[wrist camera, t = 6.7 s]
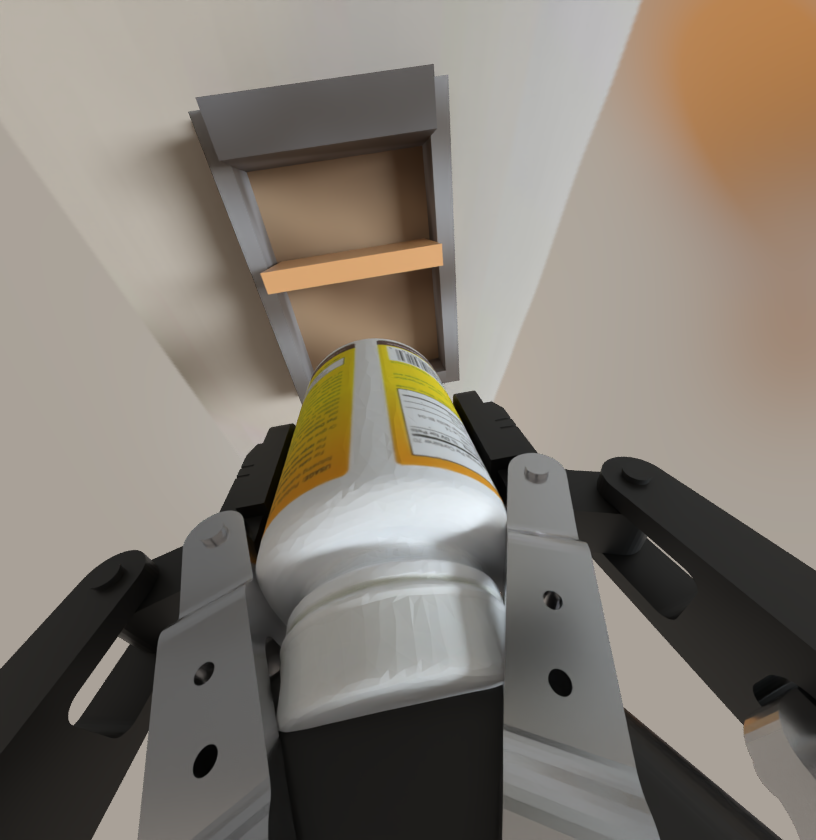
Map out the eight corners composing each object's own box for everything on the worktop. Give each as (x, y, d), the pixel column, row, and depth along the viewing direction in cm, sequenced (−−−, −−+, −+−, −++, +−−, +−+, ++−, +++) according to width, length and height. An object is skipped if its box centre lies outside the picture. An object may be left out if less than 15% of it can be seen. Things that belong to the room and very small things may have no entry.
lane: (202, 118, 16) (151, 85, 12) (441, 83, 16) (468, 41, 13) (305, 394, 26) (295, 426, 22) (454, 367, 26) (471, 394, 22)
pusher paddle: (281, 261, 19) (260, 273, 15) (424, 238, 19) (441, 243, 15) (287, 278, 20) (268, 294, 15) (425, 255, 20) (443, 265, 16)
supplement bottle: (319, 452, 14) (259, 796, 6) (297, 335, 11) (94, 705, 3) (436, 443, 15) (537, 742, 6) (445, 330, 12) (664, 617, 3)
